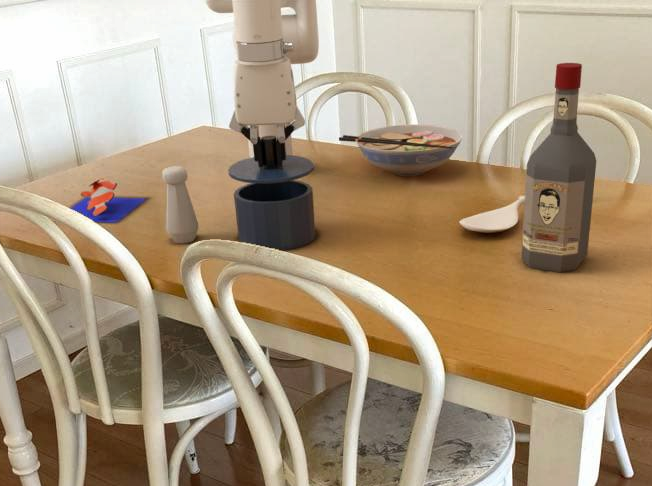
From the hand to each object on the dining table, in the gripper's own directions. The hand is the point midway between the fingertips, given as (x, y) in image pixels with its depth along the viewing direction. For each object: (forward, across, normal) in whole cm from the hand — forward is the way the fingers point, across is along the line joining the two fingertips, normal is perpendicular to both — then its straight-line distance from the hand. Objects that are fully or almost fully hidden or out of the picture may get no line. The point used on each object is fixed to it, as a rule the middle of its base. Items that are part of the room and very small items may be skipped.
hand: (270, 163), depth 151 cm
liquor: (+13, -46, +18) cm, 51 cm away
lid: (+1, 0, 0) cm, 1 cm away
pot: (+13, 0, +1) cm, 13 cm away
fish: (+14, +37, -20) cm, 44 cm away
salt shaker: (+13, +17, 0) cm, 21 cm away
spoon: (+13, -45, -5) cm, 47 cm away
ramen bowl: (+14, -26, -37) cm, 48 cm away
